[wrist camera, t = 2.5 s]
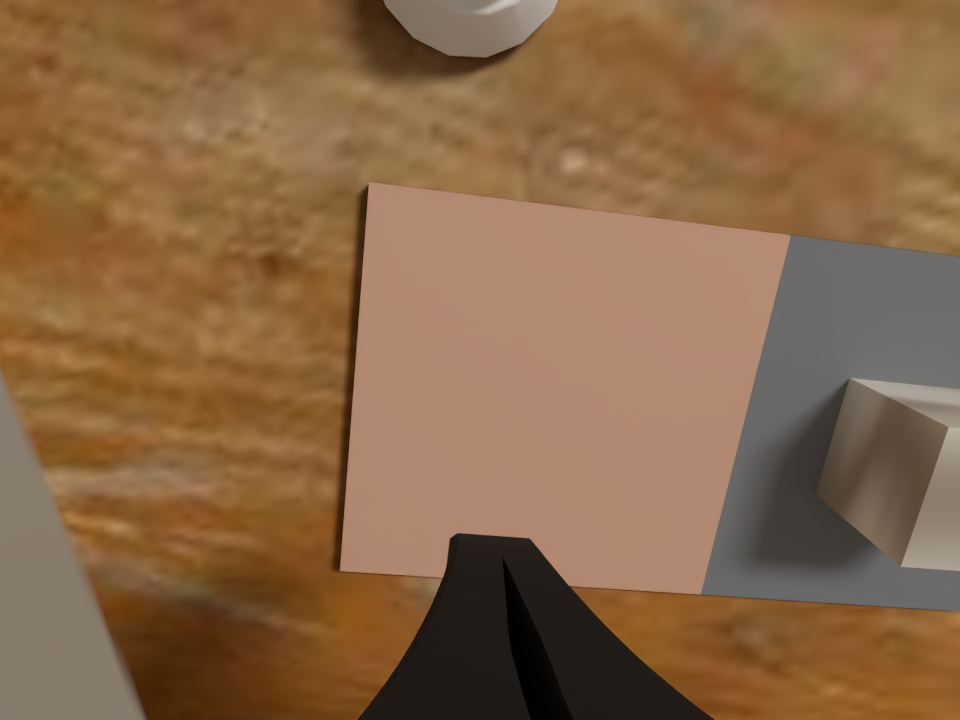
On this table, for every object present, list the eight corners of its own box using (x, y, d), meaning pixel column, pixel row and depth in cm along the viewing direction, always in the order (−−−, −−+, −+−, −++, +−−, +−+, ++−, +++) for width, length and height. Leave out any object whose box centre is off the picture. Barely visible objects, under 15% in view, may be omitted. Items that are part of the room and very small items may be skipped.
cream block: (928, 504, 21) (1036, 576, 18) (815, 494, 21) (900, 566, 17) (968, 389, 20) (1092, 441, 17) (849, 377, 20) (948, 427, 16)
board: (960, 602, 23) (971, 612, 23) (342, 561, 21) (340, 571, 21) (1086, 272, 20) (1101, 274, 20) (370, 182, 18) (368, 182, 17)
